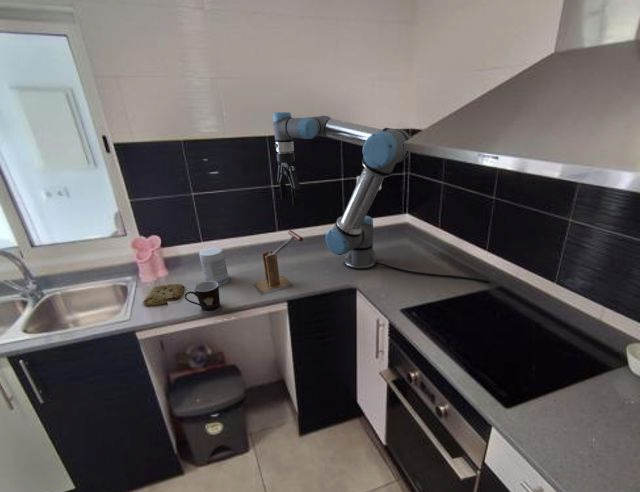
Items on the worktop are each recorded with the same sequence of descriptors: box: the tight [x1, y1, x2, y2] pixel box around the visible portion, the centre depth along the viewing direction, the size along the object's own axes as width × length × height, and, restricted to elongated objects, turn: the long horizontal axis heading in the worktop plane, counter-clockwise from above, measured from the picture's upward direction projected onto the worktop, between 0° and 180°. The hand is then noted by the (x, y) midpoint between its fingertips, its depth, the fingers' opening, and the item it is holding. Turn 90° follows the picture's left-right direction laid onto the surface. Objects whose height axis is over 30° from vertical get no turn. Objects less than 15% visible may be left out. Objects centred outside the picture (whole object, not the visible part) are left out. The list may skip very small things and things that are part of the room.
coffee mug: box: [184, 280, 221, 312], centre depth 142 cm, size 12×9×10 cm
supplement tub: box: [198, 247, 230, 286], centre depth 162 cm, size 10×10×15 cm
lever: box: [265, 229, 304, 258], centre depth 157 cm, size 16×11×2 cm
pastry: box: [142, 283, 185, 307], centre depth 153 cm, size 17×17×3 cm
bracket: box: [254, 250, 293, 292], centre depth 158 cm, size 13×10×15 cm
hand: (289, 201), depth 173 cm, fingers open, 13 cm apart
